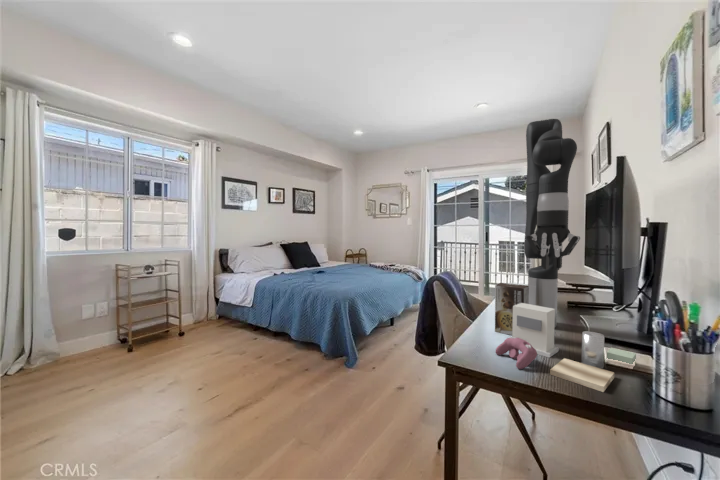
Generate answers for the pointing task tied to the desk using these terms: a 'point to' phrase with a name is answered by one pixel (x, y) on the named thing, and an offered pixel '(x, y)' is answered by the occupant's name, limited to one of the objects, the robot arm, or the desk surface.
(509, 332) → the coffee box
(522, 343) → the video game controller
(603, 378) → the birch pad
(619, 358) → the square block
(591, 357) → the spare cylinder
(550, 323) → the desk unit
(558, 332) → the desk surface
